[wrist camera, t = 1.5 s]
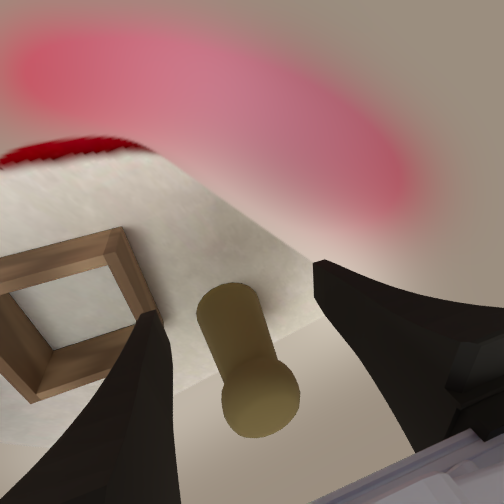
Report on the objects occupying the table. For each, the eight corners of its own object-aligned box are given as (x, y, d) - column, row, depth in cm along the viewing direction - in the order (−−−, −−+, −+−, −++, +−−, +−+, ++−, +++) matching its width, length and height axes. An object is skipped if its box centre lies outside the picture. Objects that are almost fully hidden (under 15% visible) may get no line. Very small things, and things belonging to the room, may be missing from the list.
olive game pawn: (263, 321, 28) (317, 427, 19) (206, 343, 27) (233, 466, 18) (253, 274, 25) (311, 372, 16) (187, 295, 24) (210, 415, 15)
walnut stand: (48, 359, 23) (30, 404, 19) (-28, 265, 18) (-70, 301, 15) (163, 321, 24) (165, 356, 21) (121, 226, 20) (115, 251, 16)
